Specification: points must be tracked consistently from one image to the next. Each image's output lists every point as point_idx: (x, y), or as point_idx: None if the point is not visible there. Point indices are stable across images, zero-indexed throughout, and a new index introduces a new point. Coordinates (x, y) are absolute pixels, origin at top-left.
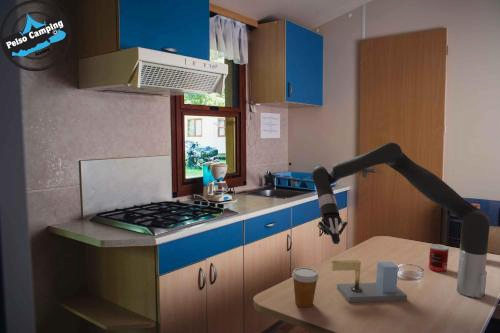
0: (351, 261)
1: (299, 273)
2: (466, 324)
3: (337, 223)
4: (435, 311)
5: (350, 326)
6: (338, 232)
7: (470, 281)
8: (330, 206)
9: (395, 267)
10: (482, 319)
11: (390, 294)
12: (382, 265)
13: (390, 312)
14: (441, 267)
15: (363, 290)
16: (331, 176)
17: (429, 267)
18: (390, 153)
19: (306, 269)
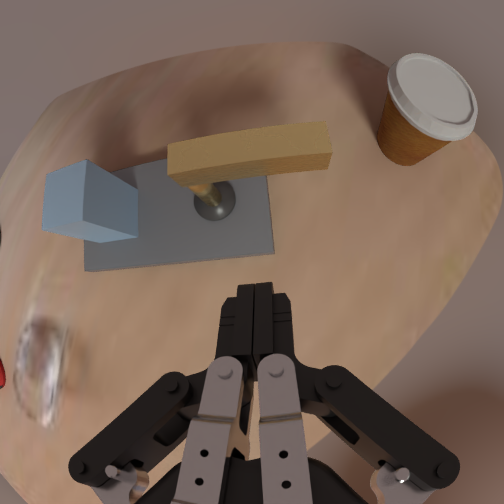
0: (211, 151)
1: (455, 88)
2: (61, 103)
3: (184, 476)
4: (72, 139)
5: (291, 47)
6: (211, 369)
7: None
8: None
9: (54, 172)
10: (31, 130)
11: (122, 177)
12: (83, 177)
13: (166, 110)
14: None
15: (191, 197)
16: None
17: (2, 375)
18: None
19: (439, 117)
